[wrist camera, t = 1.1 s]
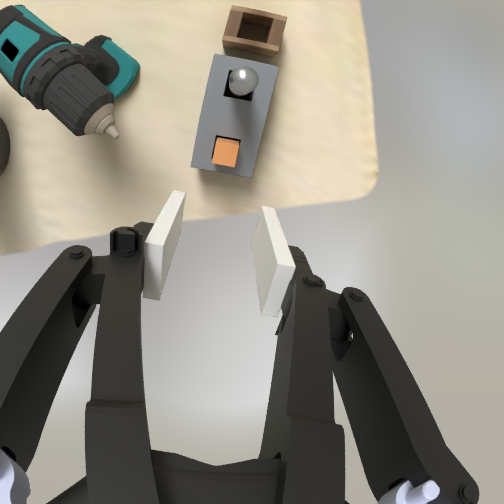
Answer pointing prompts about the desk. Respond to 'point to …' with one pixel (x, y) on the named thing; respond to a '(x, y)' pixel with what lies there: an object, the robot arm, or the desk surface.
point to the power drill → (64, 72)
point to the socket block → (233, 116)
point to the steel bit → (243, 81)
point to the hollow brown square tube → (258, 18)
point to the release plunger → (225, 152)
